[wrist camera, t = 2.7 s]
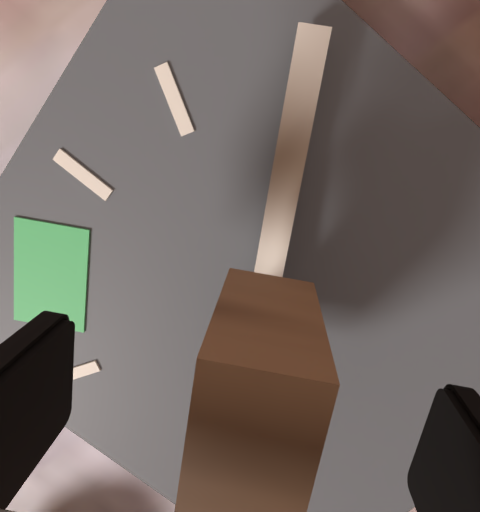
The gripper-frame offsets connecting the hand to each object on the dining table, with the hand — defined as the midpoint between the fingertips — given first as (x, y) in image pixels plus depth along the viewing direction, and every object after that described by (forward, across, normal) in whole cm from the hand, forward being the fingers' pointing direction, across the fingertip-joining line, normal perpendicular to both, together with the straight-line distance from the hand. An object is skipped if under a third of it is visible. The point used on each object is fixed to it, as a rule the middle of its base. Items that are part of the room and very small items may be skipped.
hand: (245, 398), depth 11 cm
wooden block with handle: (+6, 0, -3) cm, 7 cm away
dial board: (+7, 0, 0) cm, 8 cm away
